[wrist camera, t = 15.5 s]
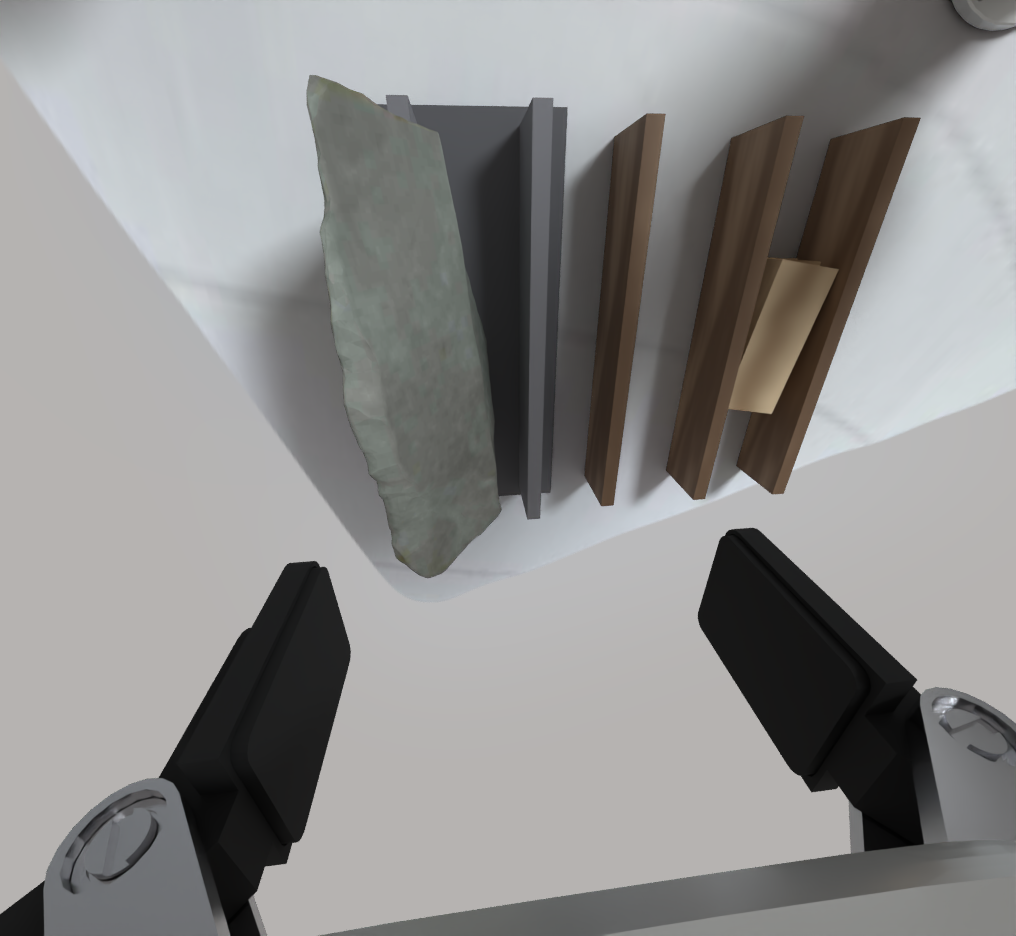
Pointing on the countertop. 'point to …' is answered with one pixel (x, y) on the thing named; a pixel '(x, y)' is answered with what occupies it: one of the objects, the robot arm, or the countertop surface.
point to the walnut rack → (735, 291)
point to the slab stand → (510, 265)
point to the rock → (405, 325)
